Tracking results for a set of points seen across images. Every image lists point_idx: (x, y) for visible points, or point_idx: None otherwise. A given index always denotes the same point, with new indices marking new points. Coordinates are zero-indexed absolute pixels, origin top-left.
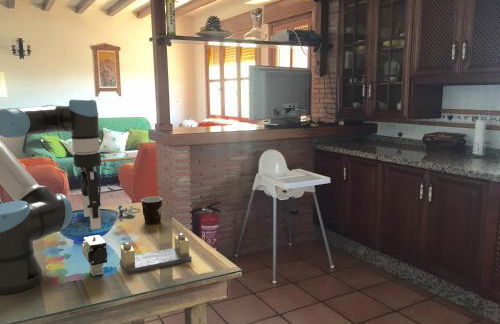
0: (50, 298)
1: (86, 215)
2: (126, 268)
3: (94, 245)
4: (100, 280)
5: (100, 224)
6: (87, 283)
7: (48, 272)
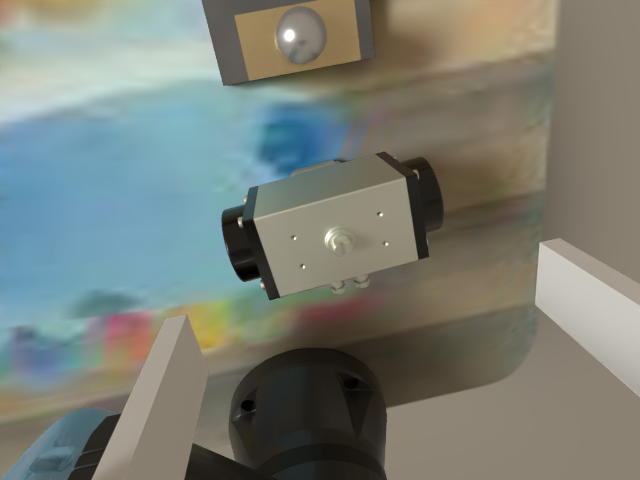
0: (452, 305)
1: (201, 366)
2: (362, 58)
3: (424, 235)
4: None
5: (581, 253)
6: None
7: (255, 340)
